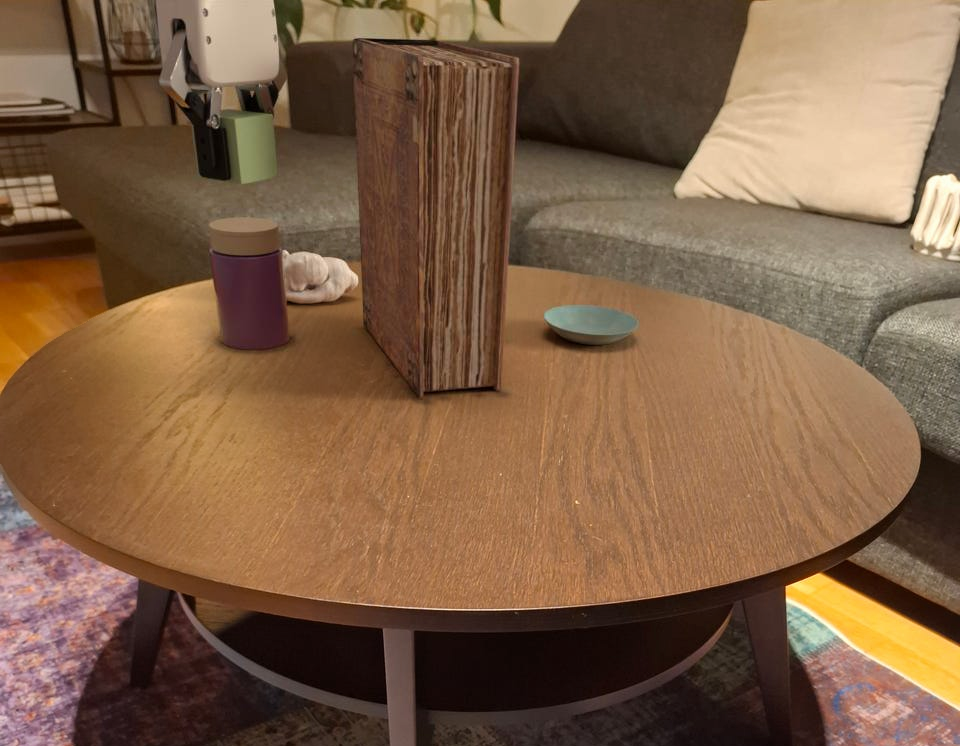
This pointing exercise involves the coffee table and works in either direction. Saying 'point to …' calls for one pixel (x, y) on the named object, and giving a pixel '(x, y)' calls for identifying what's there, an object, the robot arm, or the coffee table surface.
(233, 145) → the block
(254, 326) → the jar
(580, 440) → the coffee table surface
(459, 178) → the book
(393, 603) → the coffee table surface
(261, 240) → the jar lid
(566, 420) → the coffee table surface
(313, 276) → the baby figurine
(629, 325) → the saucer
